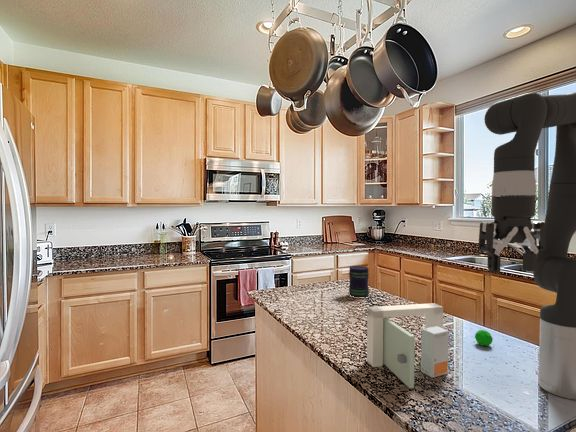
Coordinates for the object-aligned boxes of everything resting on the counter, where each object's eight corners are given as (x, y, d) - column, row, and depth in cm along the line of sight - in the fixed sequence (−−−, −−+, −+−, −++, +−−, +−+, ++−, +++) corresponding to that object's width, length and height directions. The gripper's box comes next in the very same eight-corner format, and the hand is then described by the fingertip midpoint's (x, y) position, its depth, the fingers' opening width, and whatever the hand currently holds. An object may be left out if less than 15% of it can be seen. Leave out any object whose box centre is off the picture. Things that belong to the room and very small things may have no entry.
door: (414, 387, 82) (415, 336, 82) (403, 389, 81) (404, 337, 81) (383, 359, 97) (384, 316, 97) (374, 360, 96) (375, 316, 96)
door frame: (433, 354, 102) (434, 303, 101) (442, 360, 98) (443, 306, 98) (366, 360, 97) (367, 307, 97) (373, 367, 93) (373, 311, 93)
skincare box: (432, 378, 87) (433, 334, 87) (420, 371, 91) (420, 328, 91) (448, 374, 90) (449, 330, 90) (436, 367, 94) (436, 325, 93)
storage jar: (366, 300, 162) (366, 269, 161) (346, 297, 166) (347, 268, 166) (370, 295, 171) (370, 266, 170) (351, 293, 175) (351, 265, 175)
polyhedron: (471, 342, 111) (471, 328, 111) (483, 341, 112) (483, 327, 112) (483, 349, 106) (484, 334, 106) (496, 347, 107) (496, 332, 107)
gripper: (525, 195, 73) (523, 267, 74) (469, 194, 70) (468, 269, 71) (559, 193, 66) (557, 274, 66) (499, 193, 63) (497, 277, 64)
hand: (511, 271), depth 69 cm, fingers open, 8 cm apart
